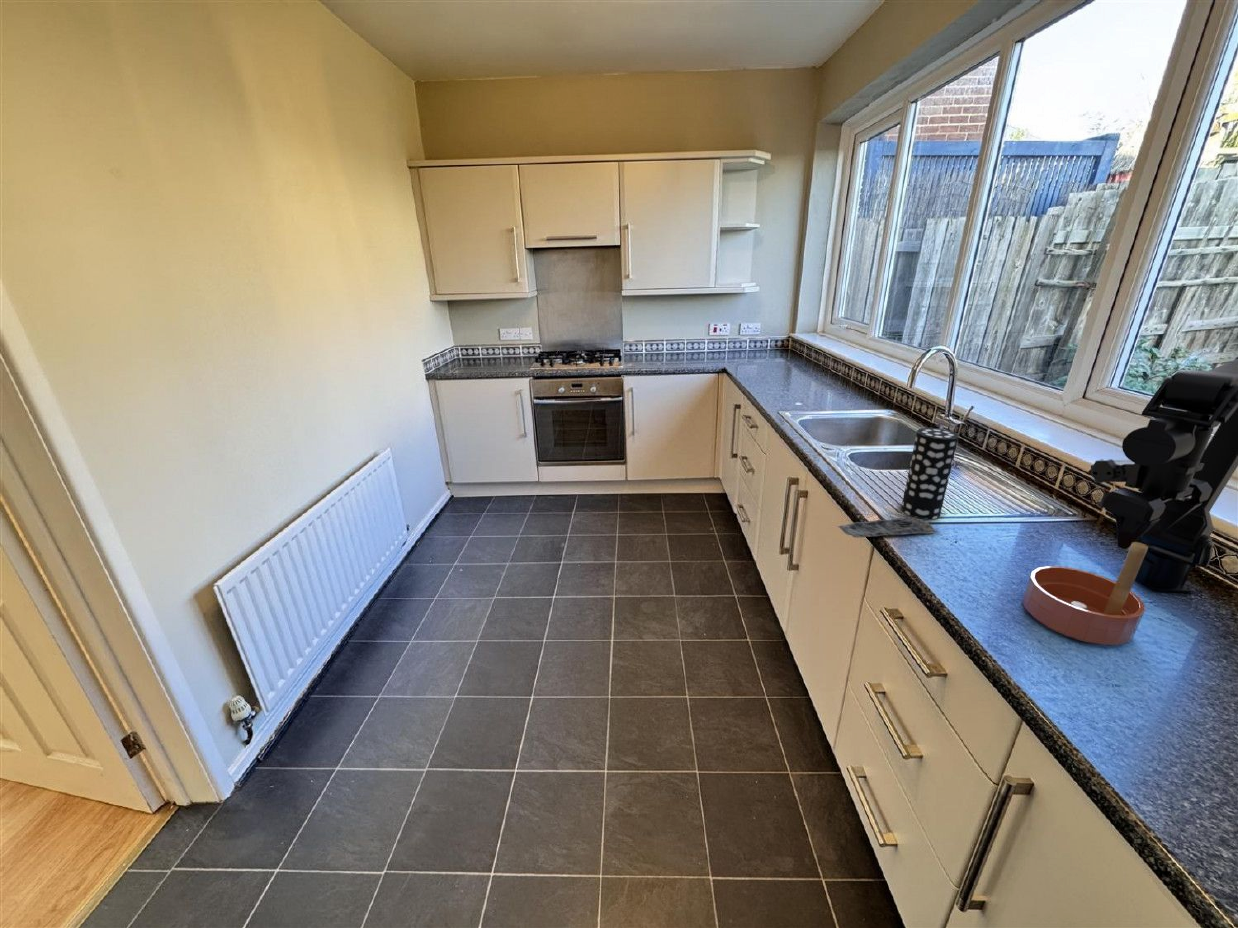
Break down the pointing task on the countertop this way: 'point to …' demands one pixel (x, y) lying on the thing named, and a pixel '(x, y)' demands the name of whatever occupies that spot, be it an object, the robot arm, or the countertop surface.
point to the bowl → (1076, 621)
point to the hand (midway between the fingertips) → (1137, 541)
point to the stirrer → (1123, 580)
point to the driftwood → (887, 527)
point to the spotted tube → (929, 472)
